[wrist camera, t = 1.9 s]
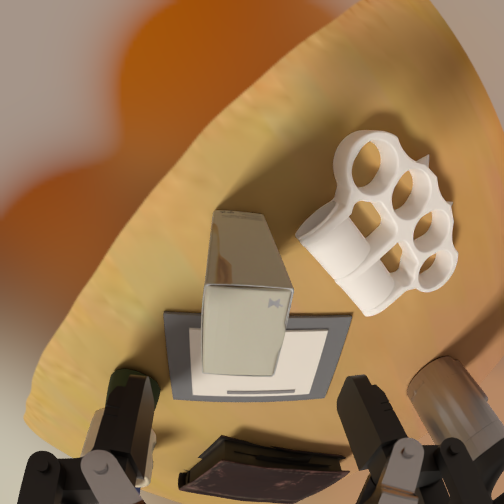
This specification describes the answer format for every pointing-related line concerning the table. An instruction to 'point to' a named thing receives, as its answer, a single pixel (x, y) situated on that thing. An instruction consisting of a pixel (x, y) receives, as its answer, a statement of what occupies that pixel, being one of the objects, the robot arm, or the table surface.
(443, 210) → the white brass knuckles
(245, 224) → the skincare box
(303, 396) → the notepad
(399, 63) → the table surface
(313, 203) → the table surface
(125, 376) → the character mug
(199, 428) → the table surface
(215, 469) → the diary
